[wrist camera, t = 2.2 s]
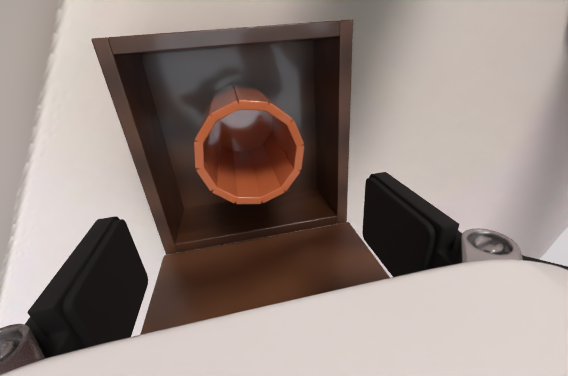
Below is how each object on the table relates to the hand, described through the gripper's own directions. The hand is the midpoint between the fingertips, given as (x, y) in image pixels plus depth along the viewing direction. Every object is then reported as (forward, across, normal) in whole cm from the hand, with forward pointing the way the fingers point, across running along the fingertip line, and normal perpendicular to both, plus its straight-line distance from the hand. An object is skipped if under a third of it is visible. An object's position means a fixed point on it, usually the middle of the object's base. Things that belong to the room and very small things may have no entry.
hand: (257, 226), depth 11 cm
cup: (+16, -1, -1) cm, 16 cm away
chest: (+17, -1, 0) cm, 17 cm away
